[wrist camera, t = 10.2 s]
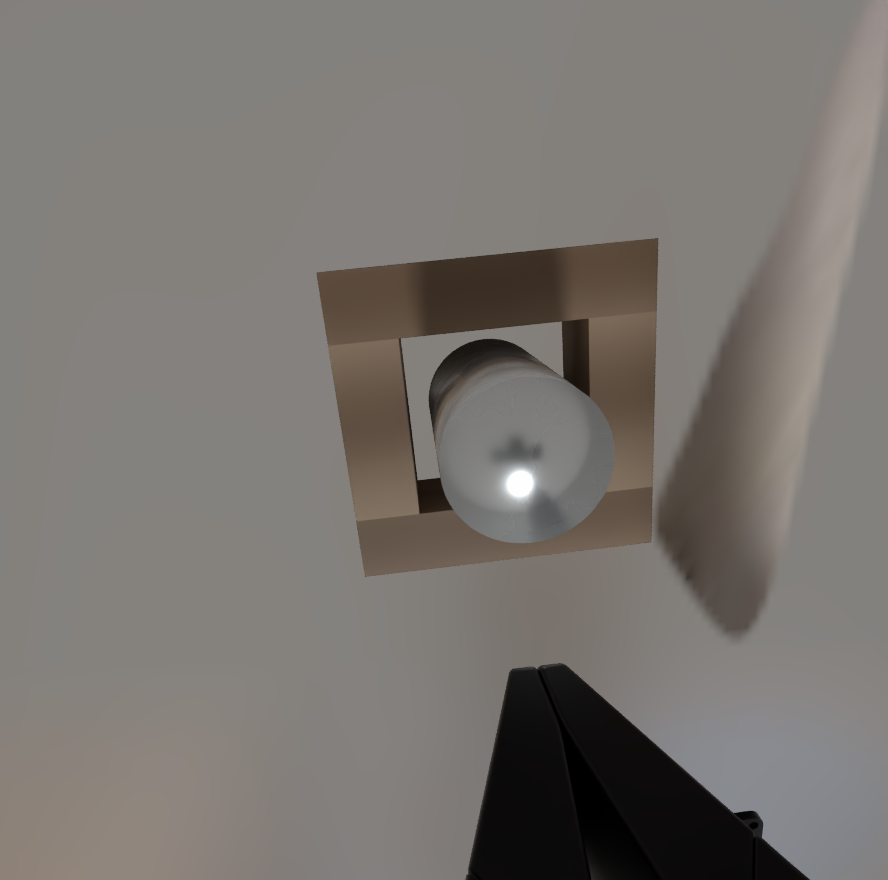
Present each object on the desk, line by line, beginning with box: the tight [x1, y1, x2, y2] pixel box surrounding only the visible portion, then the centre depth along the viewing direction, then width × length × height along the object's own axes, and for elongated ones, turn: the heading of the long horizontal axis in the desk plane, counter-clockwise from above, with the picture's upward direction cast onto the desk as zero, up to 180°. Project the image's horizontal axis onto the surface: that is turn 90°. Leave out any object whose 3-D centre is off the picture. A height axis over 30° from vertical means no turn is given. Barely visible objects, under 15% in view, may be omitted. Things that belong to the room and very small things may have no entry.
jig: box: [317, 238, 658, 577], centre depth 19 cm, size 10×10×3 cm
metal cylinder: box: [429, 339, 615, 543], centre depth 17 cm, size 4×4×7 cm
